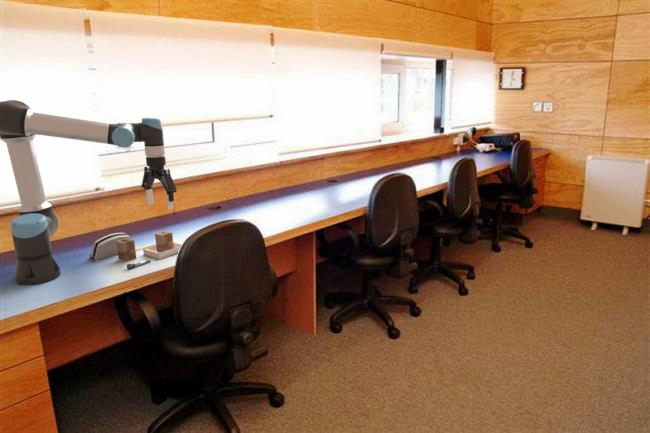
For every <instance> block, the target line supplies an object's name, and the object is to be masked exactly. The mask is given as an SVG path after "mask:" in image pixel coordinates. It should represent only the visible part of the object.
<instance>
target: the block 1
mask: <svg viewBox="0 0 650 433" xmlns="http://www.w3.org/2000/svg"><path fill="white" fill-rule="evenodd" d="M116 244H117V251H118V253H117V257H118V260H119V261H122V262H124V263H126V262H129V261H133V260H136V259H137V251H135V250H136V244H135V239H132V238H130V239H129V238H125V239H122V240H118V241H116Z"/></svg>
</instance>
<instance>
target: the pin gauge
mask: <svg viewBox="0 0 650 433" xmlns="http://www.w3.org/2000/svg"><path fill="white" fill-rule="evenodd" d="M149 263H151V259H145V260H141V261H138V262H137V263H134V262H129V263H127V264H126V268H127V269H128V270H130V269H134V268H135V267H136V268H137V267H140V266H142V265H146V264H149Z"/></svg>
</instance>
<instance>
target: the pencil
mask: <svg viewBox="0 0 650 433" xmlns="http://www.w3.org/2000/svg"><path fill="white" fill-rule="evenodd" d="M154 245H156V243H155V244H151V245H148V246H145V247H141V248H138V249H137V248H136V249H135V251H136V252H137V251H141V250H142V251H143V249H144V248H148V247H151V246H154Z"/></svg>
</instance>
